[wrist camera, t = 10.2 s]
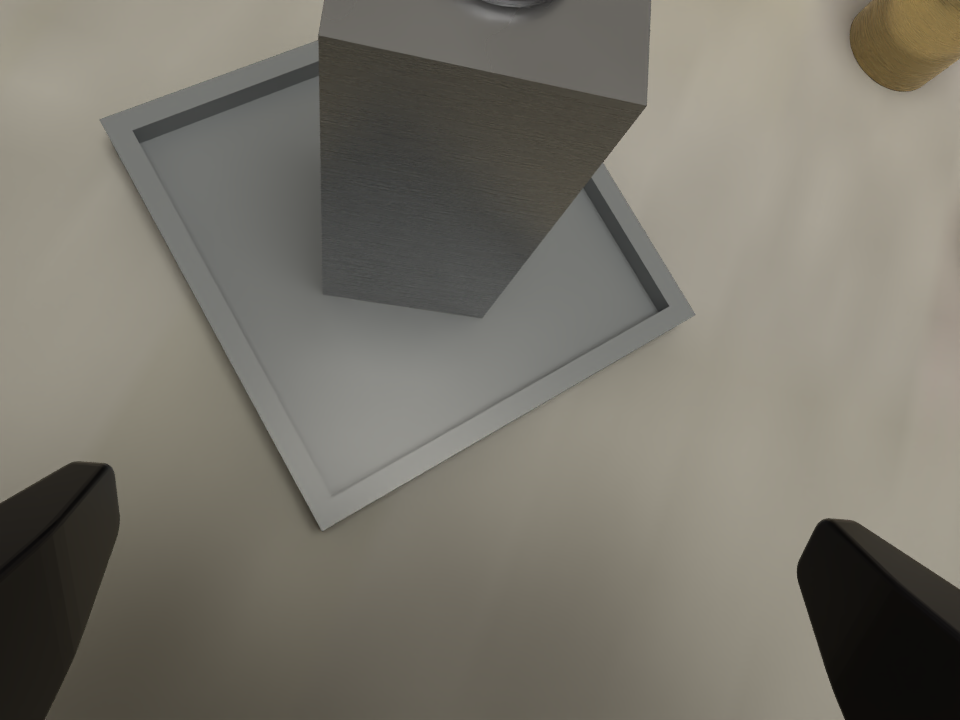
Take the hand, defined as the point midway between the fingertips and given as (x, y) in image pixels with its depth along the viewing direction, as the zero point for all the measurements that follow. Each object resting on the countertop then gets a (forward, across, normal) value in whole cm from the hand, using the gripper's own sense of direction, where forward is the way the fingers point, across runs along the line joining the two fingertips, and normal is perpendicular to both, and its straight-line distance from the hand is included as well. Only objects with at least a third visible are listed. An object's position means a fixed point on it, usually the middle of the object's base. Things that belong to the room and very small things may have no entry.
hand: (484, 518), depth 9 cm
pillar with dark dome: (+13, +1, +1) cm, 13 cm away
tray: (+13, +1, +1) cm, 13 cm away
